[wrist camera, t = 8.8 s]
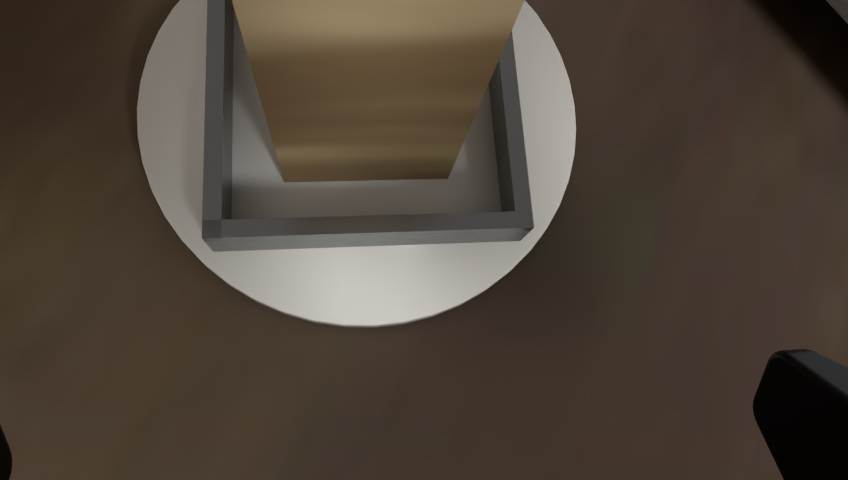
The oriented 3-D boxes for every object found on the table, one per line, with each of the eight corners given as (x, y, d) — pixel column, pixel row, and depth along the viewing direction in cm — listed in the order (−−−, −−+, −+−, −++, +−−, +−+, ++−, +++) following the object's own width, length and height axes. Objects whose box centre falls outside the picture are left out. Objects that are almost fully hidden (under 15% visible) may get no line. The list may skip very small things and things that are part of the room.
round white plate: (590, 316, 16) (602, 312, 15) (136, 340, 15) (125, 336, 14) (542, -52, 19) (550, -71, 18) (156, -62, 17) (146, -83, 17)
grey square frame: (520, 240, 16) (533, 227, 14) (213, 251, 15) (201, 238, 13) (493, -17, 17) (503, -47, 16) (218, -21, 16) (208, -54, 15)
